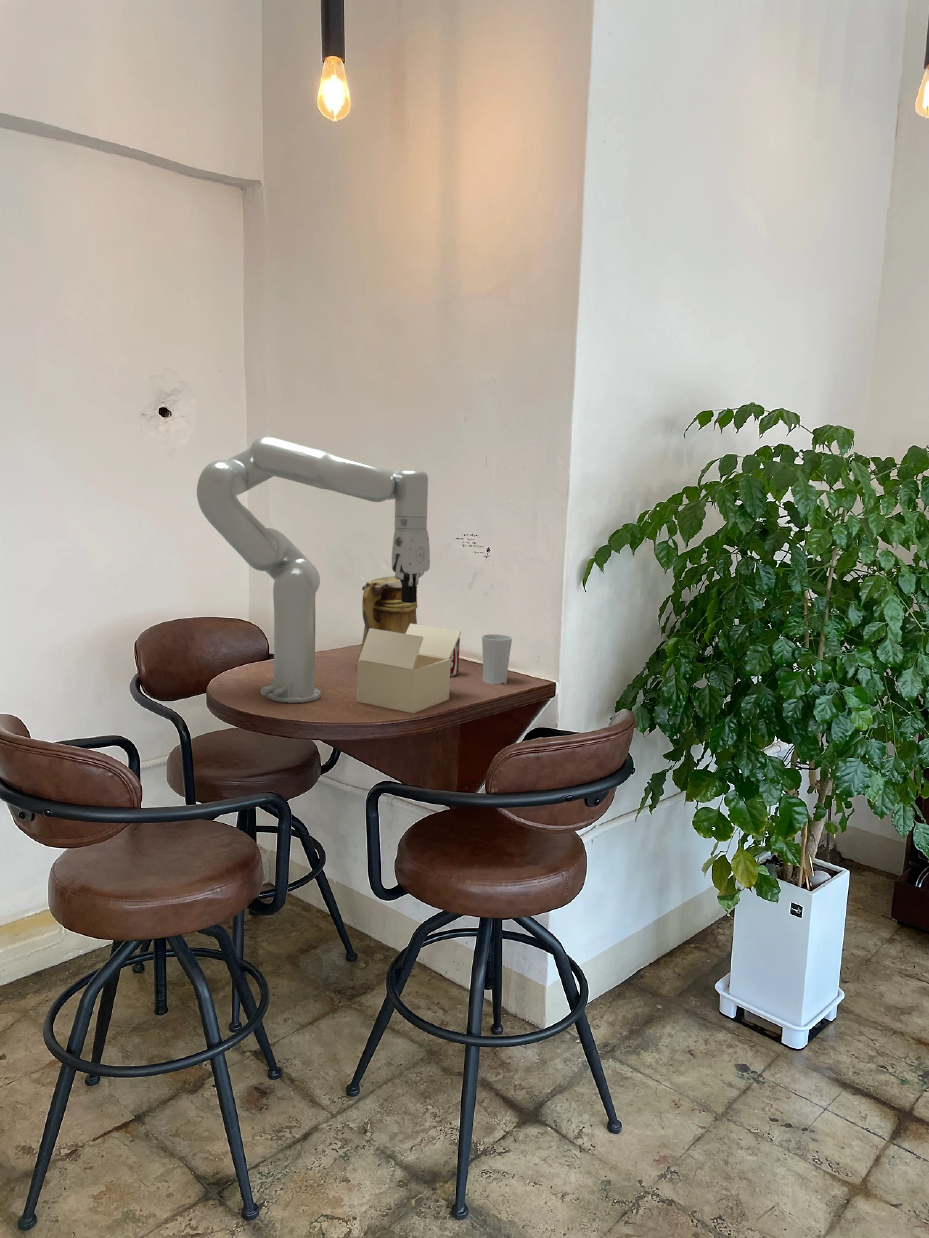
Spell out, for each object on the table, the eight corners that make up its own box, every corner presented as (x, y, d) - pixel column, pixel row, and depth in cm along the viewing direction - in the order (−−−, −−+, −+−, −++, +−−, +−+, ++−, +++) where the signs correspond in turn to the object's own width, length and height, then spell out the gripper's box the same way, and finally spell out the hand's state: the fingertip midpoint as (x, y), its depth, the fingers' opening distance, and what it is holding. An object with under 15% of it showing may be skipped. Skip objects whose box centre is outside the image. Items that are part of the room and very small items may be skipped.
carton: (413, 713, 205) (415, 670, 203) (356, 701, 212) (357, 660, 211) (448, 699, 218) (450, 659, 217) (394, 688, 226) (395, 649, 224)
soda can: (428, 674, 244) (430, 630, 242) (444, 670, 249) (446, 628, 247) (446, 678, 239) (449, 634, 237) (463, 675, 244) (465, 631, 242)
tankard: (433, 664, 256) (437, 577, 251) (393, 680, 235) (397, 586, 230) (378, 656, 263) (381, 571, 259) (334, 671, 242) (337, 579, 238)
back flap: (460, 631, 220) (461, 632, 221) (410, 623, 228) (411, 624, 228) (448, 658, 217) (449, 659, 217) (397, 649, 224) (398, 650, 224)
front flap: (370, 628, 213) (369, 628, 212) (423, 637, 205) (422, 636, 205) (359, 660, 210) (358, 659, 210) (412, 669, 203) (411, 669, 203)
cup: (513, 684, 236) (515, 640, 234) (483, 685, 234) (486, 640, 232) (505, 677, 244) (507, 634, 242) (476, 677, 242) (478, 634, 240)
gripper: (406, 526, 200) (404, 607, 203) (441, 523, 213) (439, 600, 216) (378, 524, 204) (377, 604, 207) (414, 521, 216) (412, 597, 220)
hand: (409, 602), depth 211 cm, fingers closed
